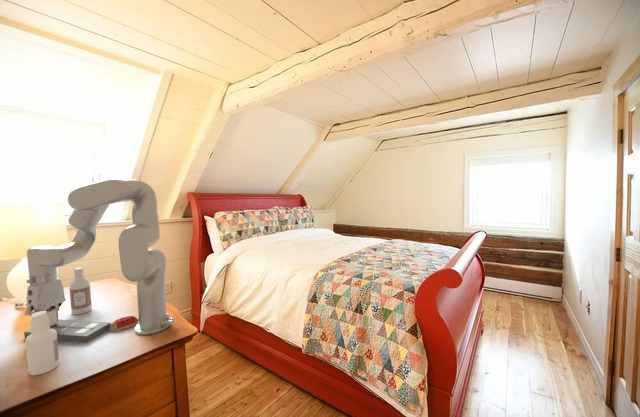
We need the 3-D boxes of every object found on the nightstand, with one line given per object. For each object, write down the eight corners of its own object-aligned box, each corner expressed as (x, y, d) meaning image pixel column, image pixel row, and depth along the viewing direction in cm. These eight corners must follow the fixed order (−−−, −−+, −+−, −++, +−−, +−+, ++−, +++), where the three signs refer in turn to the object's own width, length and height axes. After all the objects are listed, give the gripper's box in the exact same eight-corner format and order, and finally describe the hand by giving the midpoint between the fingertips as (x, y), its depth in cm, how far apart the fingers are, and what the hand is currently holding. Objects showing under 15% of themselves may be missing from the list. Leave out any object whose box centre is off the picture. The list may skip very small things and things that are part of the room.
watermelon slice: (107, 328, 110) (107, 320, 109) (136, 319, 117) (136, 311, 117) (111, 334, 105) (110, 326, 105) (141, 325, 112) (140, 316, 112)
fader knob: (57, 322, 108) (56, 307, 108) (47, 327, 105) (46, 312, 104) (48, 322, 109) (47, 307, 108) (38, 326, 105) (36, 311, 105)
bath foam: (70, 316, 119) (66, 271, 118) (73, 310, 125) (69, 267, 123) (90, 312, 123) (87, 269, 121) (92, 306, 129) (89, 265, 127)
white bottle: (65, 361, 89) (60, 307, 88) (45, 375, 82) (39, 318, 81) (43, 361, 89) (38, 308, 87) (21, 376, 82) (15, 318, 81)
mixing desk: (111, 328, 109) (110, 322, 109) (87, 342, 99) (86, 335, 99) (53, 324, 112) (52, 318, 112) (24, 338, 102) (24, 331, 102)
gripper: (27, 286, 96) (31, 336, 98) (74, 271, 113) (77, 314, 114) (8, 285, 97) (13, 335, 99) (57, 271, 114) (61, 313, 115)
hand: (48, 323), depth 107 cm, fingers closed on fader knob, 3 cm apart
